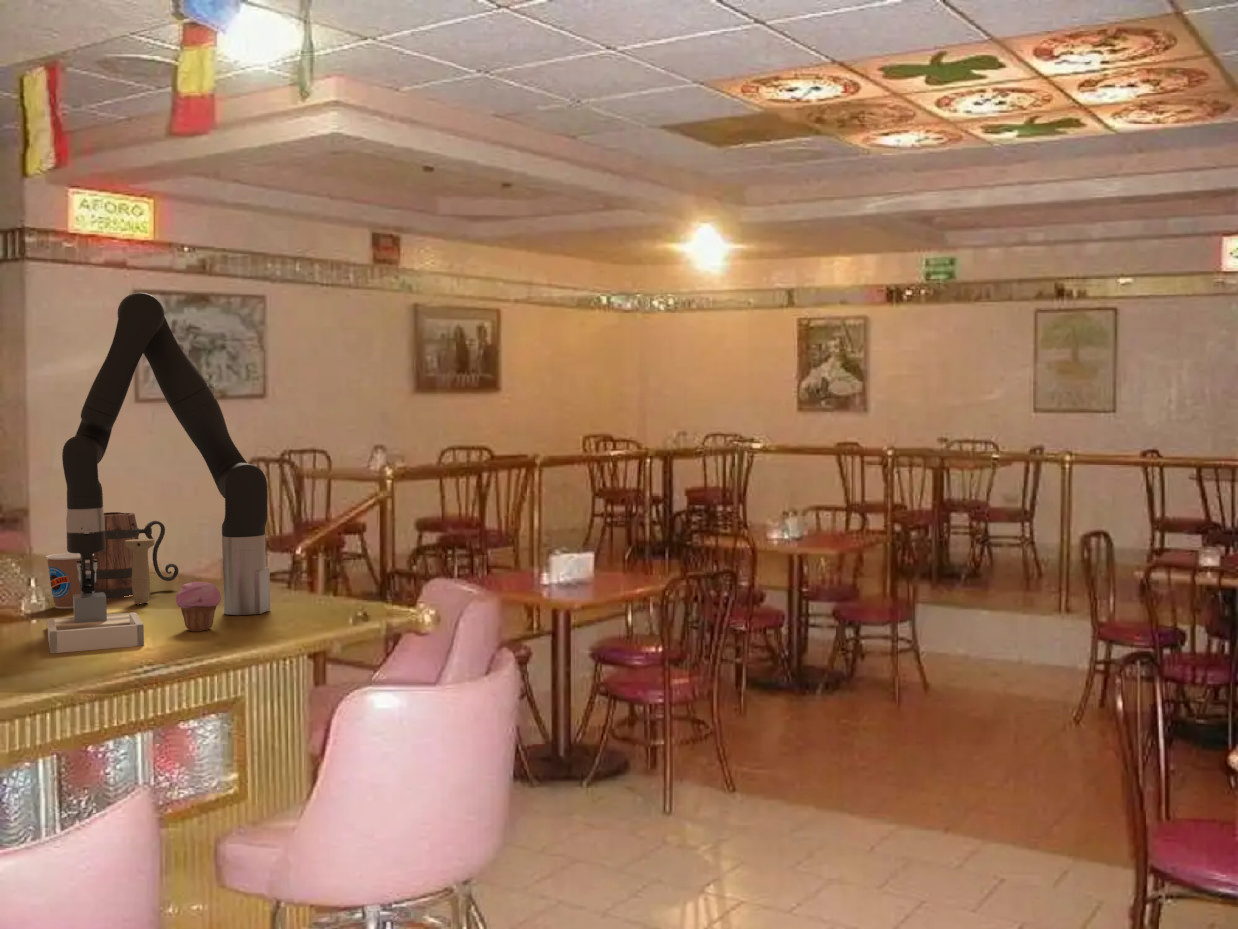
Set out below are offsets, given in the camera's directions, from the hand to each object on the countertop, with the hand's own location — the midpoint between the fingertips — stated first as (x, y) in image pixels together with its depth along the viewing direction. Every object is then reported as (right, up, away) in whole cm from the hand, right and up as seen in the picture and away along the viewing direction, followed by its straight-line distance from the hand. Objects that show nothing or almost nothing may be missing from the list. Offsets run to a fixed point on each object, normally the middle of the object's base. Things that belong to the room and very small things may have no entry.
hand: (88, 610), depth 270 cm
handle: (+1, -2, +28) cm, 28 cm away
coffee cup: (-14, -2, +25) cm, 29 cm away
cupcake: (+26, -3, -9) cm, 28 cm away
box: (+10, -4, -21) cm, 24 cm away
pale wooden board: (+4, -3, -8) cm, 9 cm away
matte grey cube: (+3, -1, -6) cm, 7 cm away
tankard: (-9, -1, +47) cm, 48 cm away
